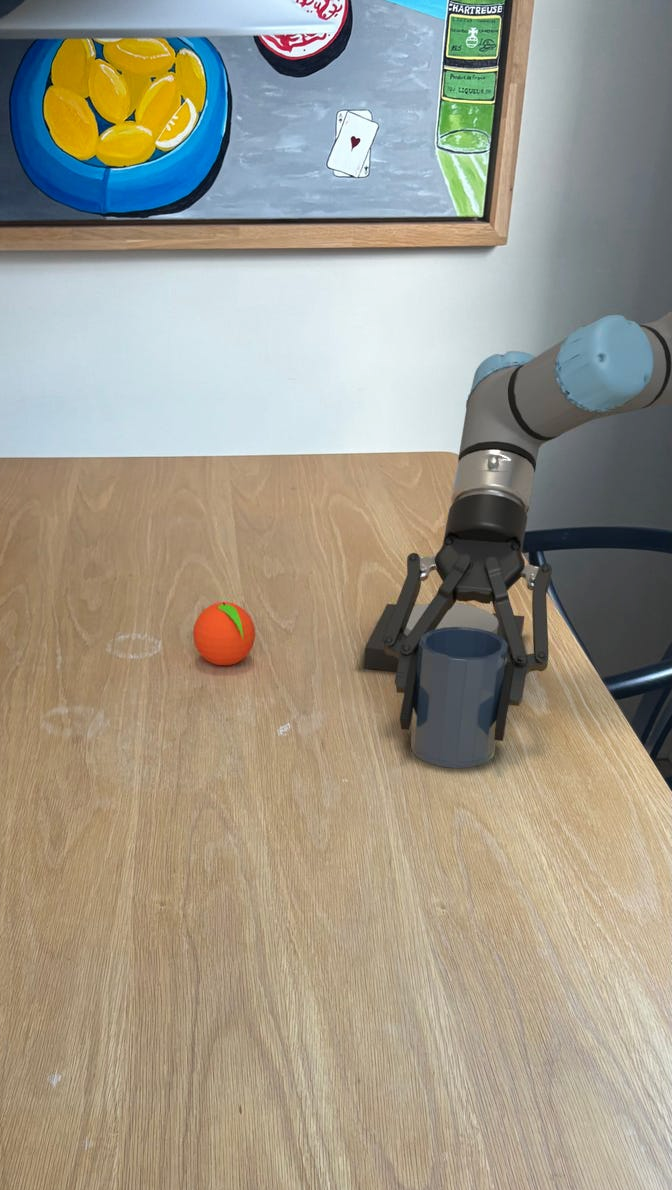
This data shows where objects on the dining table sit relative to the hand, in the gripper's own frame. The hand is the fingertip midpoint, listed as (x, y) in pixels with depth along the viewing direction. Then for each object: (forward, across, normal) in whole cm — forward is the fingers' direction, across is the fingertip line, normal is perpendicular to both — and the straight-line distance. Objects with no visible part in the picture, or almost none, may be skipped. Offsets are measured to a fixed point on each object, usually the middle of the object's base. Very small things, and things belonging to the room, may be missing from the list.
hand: (451, 730), depth 114 cm
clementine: (-10, -27, +15) cm, 32 cm away
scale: (-17, -4, +22) cm, 28 cm away
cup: (0, 0, +5) cm, 5 cm away
